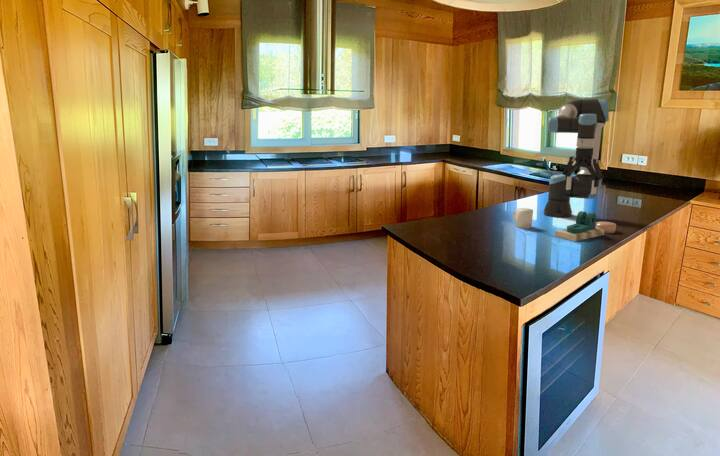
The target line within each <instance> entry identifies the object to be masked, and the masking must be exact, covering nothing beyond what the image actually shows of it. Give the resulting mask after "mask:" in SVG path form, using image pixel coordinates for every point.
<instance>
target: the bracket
mask: <svg viewBox="0 0 720 456" xmlns="http://www.w3.org/2000/svg"><path fill="white" fill-rule="evenodd" d="M597 217H598V216H597V214H596V213H595V212H587V211H578V213H577V215H576V217H575V219H576V220H575V223H573V224H570V225H567V226H566V229H567V232H569V233H575V234H579V233H583V232H586V231H589V230H592V229H595V228H596V222H597Z"/></svg>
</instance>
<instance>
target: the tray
mask: <svg viewBox="0 0 720 456" xmlns="http://www.w3.org/2000/svg"><path fill="white" fill-rule="evenodd" d="M604 235H605V233H604V230H603V229H599V228H595V229H592V230H589V231H586V232H583V233H579V234H575V233H569V232H567V228H564V229H558V230H555V232H554V237H556V238H561V239H565V240H569V241H573V242H578V241H583V240H587V239H592V238H596V237H601V236H604Z"/></svg>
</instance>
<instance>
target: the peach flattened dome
mask: <svg viewBox="0 0 720 456" xmlns="http://www.w3.org/2000/svg"><path fill="white" fill-rule="evenodd" d="M616 227H617V224H616V223H615V222H611V221H596V228H599V229H603V230H604V234H615V233H616Z"/></svg>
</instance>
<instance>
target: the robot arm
mask: <svg viewBox="0 0 720 456" xmlns="http://www.w3.org/2000/svg"><path fill="white" fill-rule="evenodd" d="M557 113H558V114H557V116H553V117H552V116H550V117H549V118H548V121H547V130H548V133H554V134H555V133H557V134H558V133H562V134H564V133H565V134H566V133H567V134H569V133H571V134H577V136H576V137H577V138H576V148H575V156H574V155H571V156H570V157H568V158H569V159H568V162H567V164H566V165H565V168H564V169H563V171H562V173H560V174H554V175H551V176H550V178H549V183H548V185H549V186H548V196H547V197H548V198H547V202H546V204H545V207H544V209H543V215H544V216H549V217H555V218H570V217H571V216H572V215H573V211H572V206H571V198H575V199H586V200H595V199H597V198H598V196H599V194H600V193H599V192H600V188H601V186H602V182H603V180H604V176H603V173H602V170H601V166H600V164H599V162H600V161H599V160H600V159H599V156H600V154H599V153H600V147H601V137H602V129H603V127H605V126H606V122H609V117H610V116H609V101H608V100H607V99H601V98H598V99H596V98H595V99H594V98H593V99H574V100H570V101H568V102H566V103H564V104H563V105H561V106H560V108H559V109H558V112H557ZM578 168H579V171H578V172H577V173H576V176H573V173H574V172H575V171H576V170H577V169H578Z"/></svg>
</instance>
